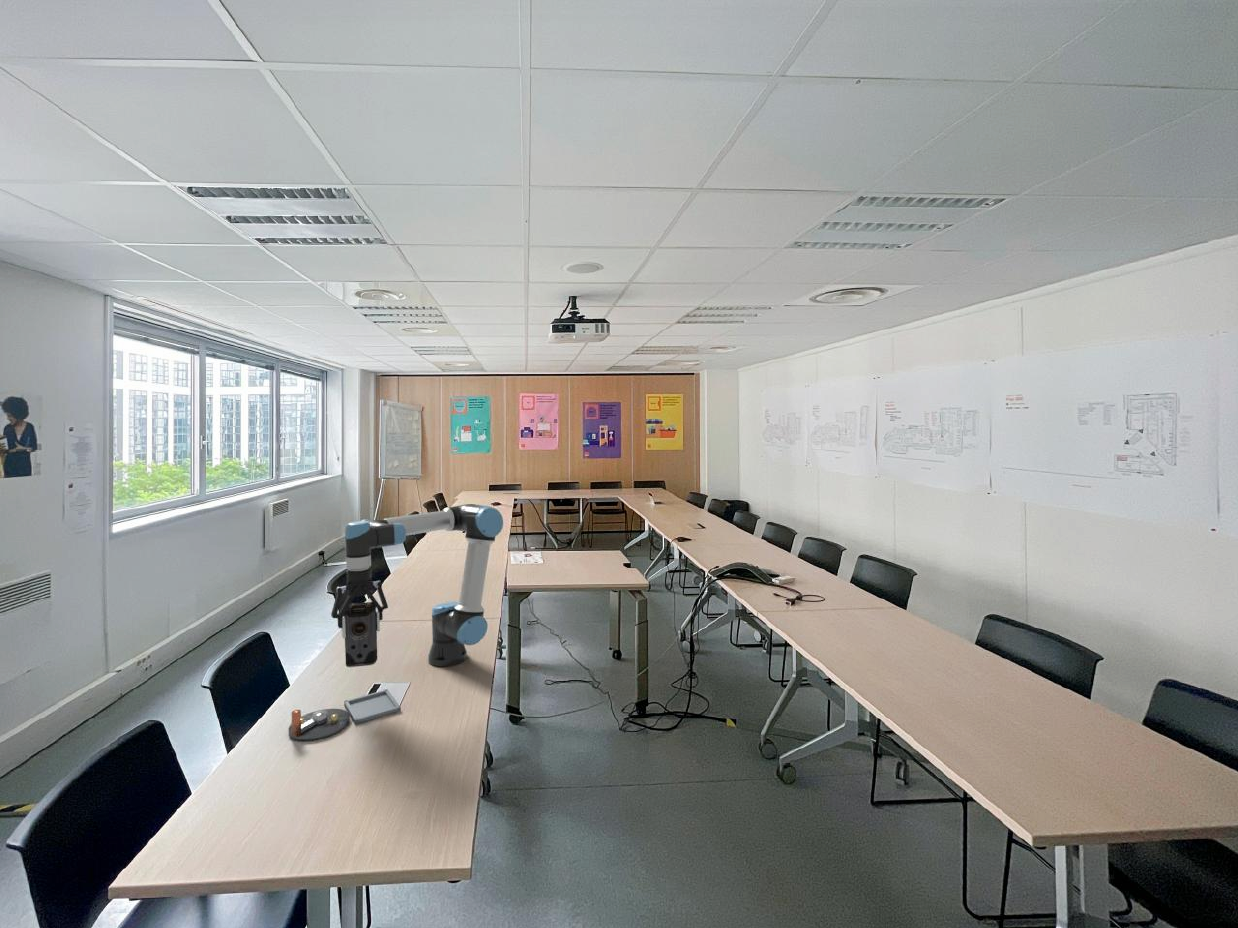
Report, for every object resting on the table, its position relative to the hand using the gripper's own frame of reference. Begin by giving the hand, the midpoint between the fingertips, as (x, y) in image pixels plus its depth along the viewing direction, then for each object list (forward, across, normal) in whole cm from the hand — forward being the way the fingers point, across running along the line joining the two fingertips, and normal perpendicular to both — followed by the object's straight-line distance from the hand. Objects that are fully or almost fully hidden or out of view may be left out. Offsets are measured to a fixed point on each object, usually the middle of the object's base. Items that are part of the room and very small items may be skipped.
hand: (361, 633), depth 183 cm
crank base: (+25, +14, +6) cm, 29 cm away
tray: (+25, -2, +3) cm, 26 cm away
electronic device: (+10, 0, 0) cm, 10 cm away
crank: (+24, +17, +7) cm, 30 cm away
